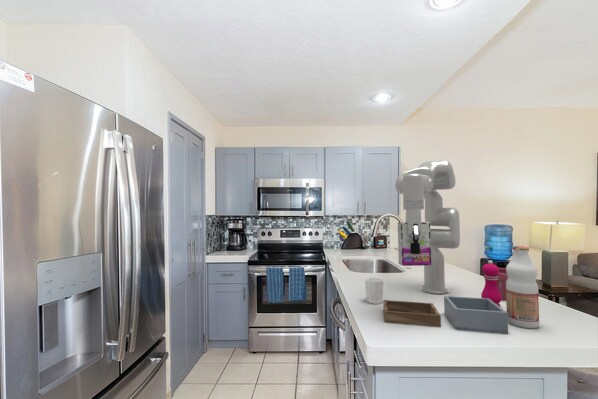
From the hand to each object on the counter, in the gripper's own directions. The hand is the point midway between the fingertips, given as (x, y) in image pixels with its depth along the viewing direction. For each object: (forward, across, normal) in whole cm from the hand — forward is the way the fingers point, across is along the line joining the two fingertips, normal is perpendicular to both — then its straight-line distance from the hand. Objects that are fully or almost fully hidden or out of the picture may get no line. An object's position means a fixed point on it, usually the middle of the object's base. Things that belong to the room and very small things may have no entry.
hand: (414, 252), depth 113 cm
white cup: (+26, -16, -15) cm, 34 cm away
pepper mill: (+26, -20, +33) cm, 46 cm away
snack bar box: (+5, 0, 0) cm, 5 cm away
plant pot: (+26, -37, +44) cm, 63 cm away
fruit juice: (+26, -3, +37) cm, 45 cm away
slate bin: (+25, 0, +20) cm, 32 cm away
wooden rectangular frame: (+25, 0, -2) cm, 25 cm away
